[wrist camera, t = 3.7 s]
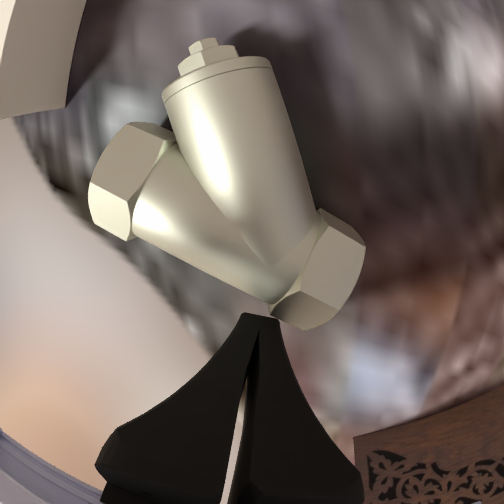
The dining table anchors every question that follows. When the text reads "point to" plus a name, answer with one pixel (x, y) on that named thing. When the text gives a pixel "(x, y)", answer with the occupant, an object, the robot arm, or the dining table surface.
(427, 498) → the tissue box cover
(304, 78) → the dining table surface
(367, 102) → the dining table surface
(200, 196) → the pipe fitting
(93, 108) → the dining table surface
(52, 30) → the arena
